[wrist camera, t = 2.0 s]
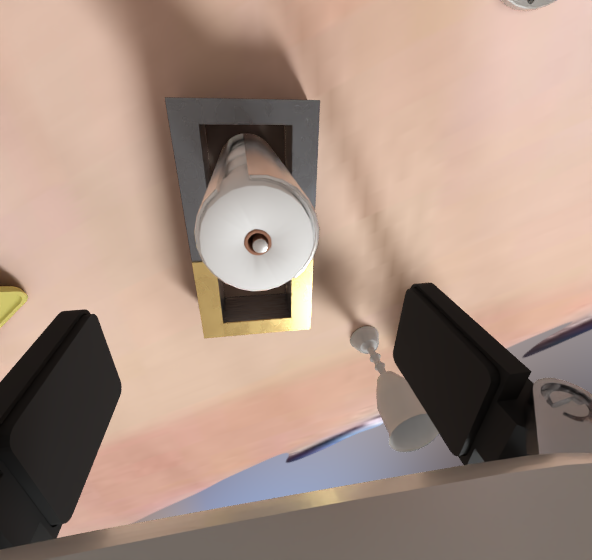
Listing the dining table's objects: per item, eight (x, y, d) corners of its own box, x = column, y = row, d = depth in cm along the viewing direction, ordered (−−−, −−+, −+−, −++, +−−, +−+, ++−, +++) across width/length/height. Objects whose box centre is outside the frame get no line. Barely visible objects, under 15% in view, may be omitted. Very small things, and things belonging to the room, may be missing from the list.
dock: (176, 98, 33) (164, 97, 27) (307, 100, 35) (320, 100, 29) (208, 311, 46) (204, 338, 41) (302, 303, 48) (310, 328, 43)
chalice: (373, 356, 56) (425, 453, 40) (339, 351, 54) (379, 451, 39) (390, 323, 53) (453, 415, 37) (354, 317, 51) (405, 411, 35)
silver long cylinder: (218, 187, 38) (190, 298, 16) (221, 128, 35) (191, 168, 13) (271, 194, 39) (311, 304, 18) (278, 138, 36) (337, 188, 15)
